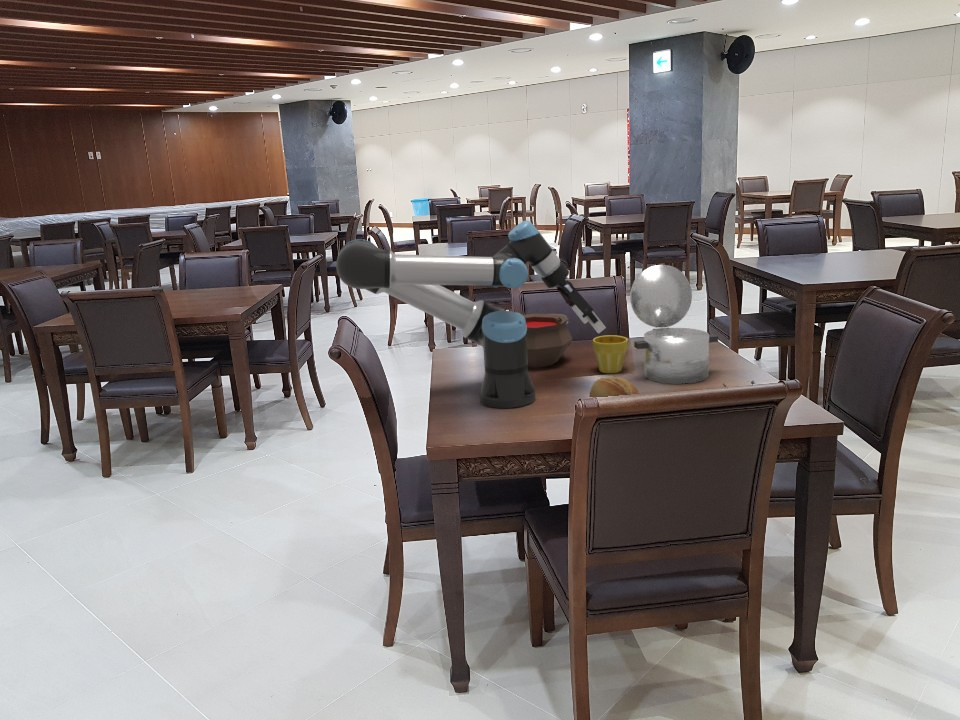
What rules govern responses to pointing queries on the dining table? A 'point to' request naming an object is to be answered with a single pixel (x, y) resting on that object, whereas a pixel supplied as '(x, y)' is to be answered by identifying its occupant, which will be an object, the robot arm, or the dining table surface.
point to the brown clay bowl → (546, 338)
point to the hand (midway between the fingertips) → (594, 325)
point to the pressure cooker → (676, 354)
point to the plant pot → (610, 352)
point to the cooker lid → (661, 296)
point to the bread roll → (612, 387)
